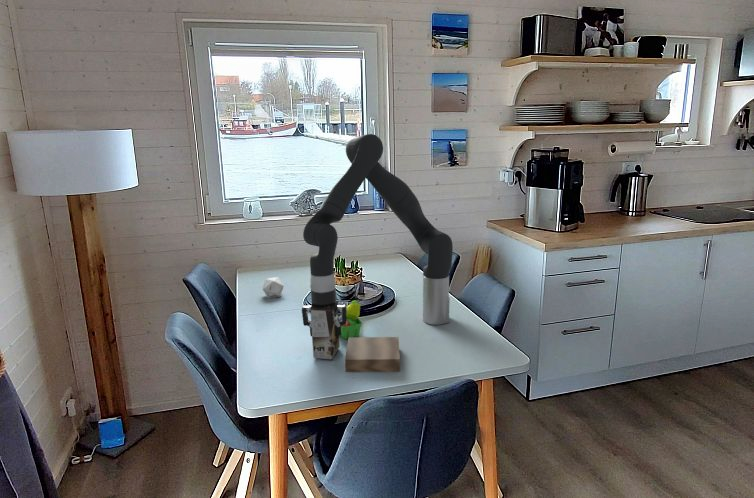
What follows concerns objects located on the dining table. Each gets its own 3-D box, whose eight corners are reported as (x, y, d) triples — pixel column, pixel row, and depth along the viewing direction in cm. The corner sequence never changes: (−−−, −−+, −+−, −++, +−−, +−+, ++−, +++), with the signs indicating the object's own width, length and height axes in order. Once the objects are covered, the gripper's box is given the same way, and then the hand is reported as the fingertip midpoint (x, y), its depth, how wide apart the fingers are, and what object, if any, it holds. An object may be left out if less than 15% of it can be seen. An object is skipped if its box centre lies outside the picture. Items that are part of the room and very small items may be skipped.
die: (259, 298, 213) (259, 284, 206) (268, 282, 219) (269, 269, 211) (276, 305, 212) (278, 292, 205) (285, 290, 218) (287, 277, 211)
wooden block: (398, 348, 164) (398, 337, 163) (399, 371, 150) (399, 359, 148) (349, 348, 164) (348, 337, 163) (345, 371, 150) (345, 359, 149)
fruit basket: (331, 328, 180) (329, 298, 177) (354, 324, 183) (353, 295, 180) (342, 341, 170) (340, 310, 167) (366, 336, 173) (365, 305, 170)
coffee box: (332, 359, 156) (330, 310, 152) (312, 358, 157) (309, 309, 153) (340, 346, 165) (338, 299, 160) (321, 345, 166) (318, 298, 162)
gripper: (347, 282, 159) (349, 331, 163) (301, 283, 159) (305, 332, 163) (345, 291, 151) (348, 341, 156) (297, 291, 152) (301, 342, 156)
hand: (326, 336), depth 160 cm, fingers closed on coffee box, 7 cm apart
